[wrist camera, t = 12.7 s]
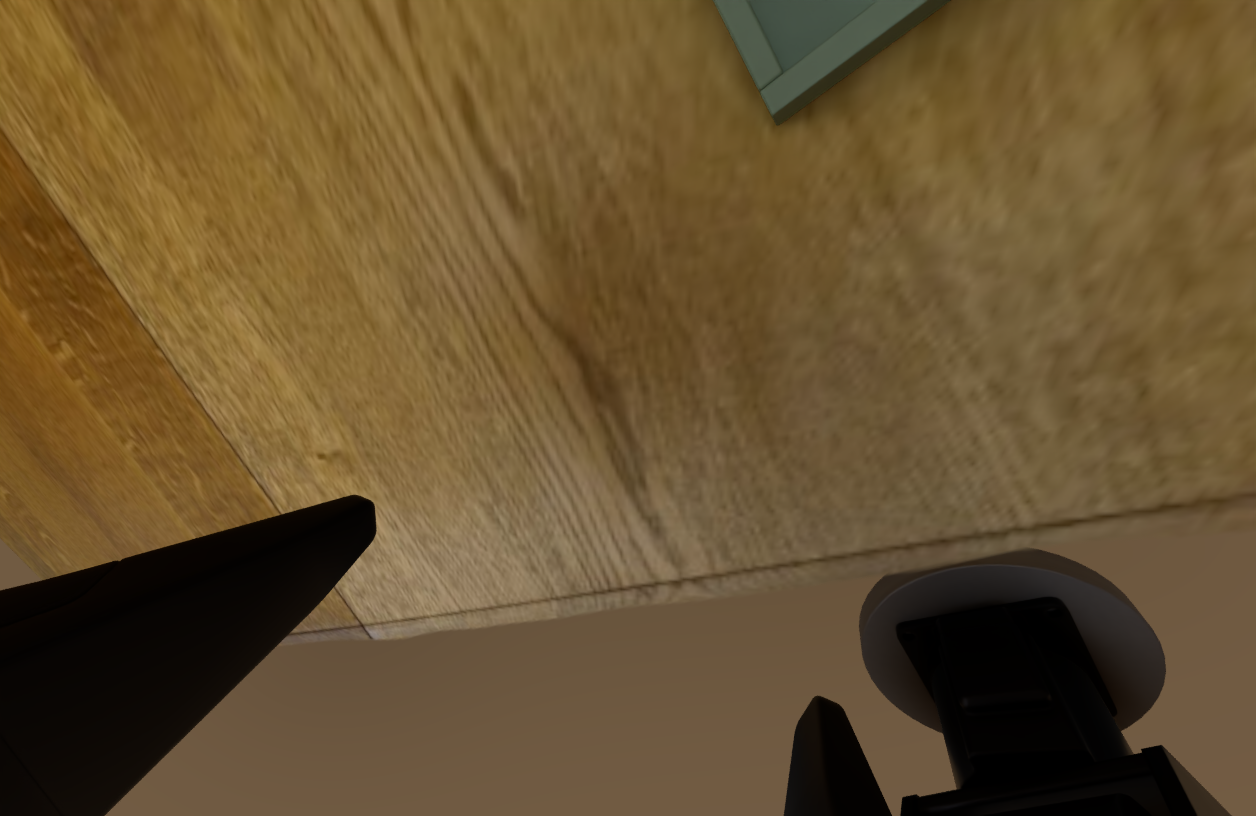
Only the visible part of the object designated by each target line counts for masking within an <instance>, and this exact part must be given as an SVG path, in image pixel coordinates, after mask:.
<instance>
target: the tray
mask: <svg viewBox="0 0 1256 816" xmlns="http://www.w3.org/2000/svg"><path fill="white" fill-rule="evenodd" d="M950 1H951V0H713V2H714V4H715V5H716V7H717V9H718V11H719V13H720V15H721V17H722V19H723V21H724V23H725V25H726V27H727V29H728V31H729V33H730V35H731V37H732V39H733V41H734V43H735V45H736V47H737V49H738V51H739V53H740V55H741V57H742V59H743V61H744V63H745V65H746V67H747V69H748V71H749V73H750V74H751V76H752V78H753V80H754V82H755V84H756V86H757V88H758V90H759V92H760V94H761V96H762V98H763V100H764V102H765V104H766V106H767V108H768V110H769V112H770V114H771V116H772V118H773V120H774V122H775V123H776V125H780V124H781V123H783V122H784V121H786V120H787V119H788V118H790V117H791V116H792V115H794V114H795V113H797V112H798V111H799V110H801V109H802V108H803V107H805V106H806V105H808V104H809V103H810V102H812V101H813V100H815V99H816V98H817V97H819V96H820V95H821V94H823V93H824V92H826V91H827V90H828V89H830V88H831V87H832V86H834V85H835V84H837V83H838V82H839V81H841V80H842V79H843V78H845V77H846V76H848V75H849V74H850V73H852V72H853V71H854V70H856V69H857V68H859V67H860V66H861V65H863V64H864V63H865V62H867V61H868V60H870V59H871V58H872V57H874V56H875V55H877V54H878V53H879V52H881V51H882V50H883V49H885V48H886V47H888V46H889V45H890V44H892V43H893V42H894V41H896V40H897V39H899V38H900V37H901V36H903V35H904V34H905V33H907V32H908V31H910V30H911V29H912V28H914V27H915V26H916V25H918V24H919V23H921V22H922V21H923V20H925V19H926V18H927V17H929V16H930V15H932V14H933V13H934V12H936V11H937V10H939V9H940V8H941V7H943V6H944V5H945V4H947V3H948V2H950Z"/></svg>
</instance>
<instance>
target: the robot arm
mask: <svg viewBox="0 0 1256 816" xmlns="http://www.w3.org/2000/svg"><path fill="white" fill-rule="evenodd" d="M375 535H376V515H375V505H374V503H373V502H372V501H371V500H368V499H366V498H364V497H361V496H359V495H350V496H346V497H343V498H339V499H336V500H332V501H328V502H325V503H321V504H318V505H314V506H310V507H307V508H303V509H300V510H296V511H292V512H289V513H285V514H282V515H278V516H275V517H271V518H267V519H264V520H260V521H257V522H253V523H249V524H246V525H242V526H239V527H235V528H231V529H228V530H224V531H221V532H217V533H213V534H210V535H206V536H203V537H199V538H196V539H192V540H188V541H185V542H181V543H178V544H174V545H170V546H167V547H163V548H160V549H156V550H152V551H149V552H145V553H142V554H138V555H134V556H131V557H127V558H124V559H122V560H121V561H112V562H109V563H105V564H102V565H98V566H95V567H91V568H87V569H84V570H80V571H76V572H72V573H69V574H65V575H61V576H57V577H53V578H50V579H46V580H42V581H39V582H34V583H30V584H26V585H21V586H17V587H13V588H9V589H5V590H1V591H0V816H105V815H106V814H107V813H108V812H109V811H110V810H111V809H112V808H113V807H114V806H115V805H116V804H117V803H118V802H119V801H120V800H121V799H122V798H123V797H124V796H125V795H126V794H127V793H128V792H129V791H130V790H131V789H132V788H133V787H134V786H135V785H136V784H137V783H138V782H139V781H140V780H141V779H142V778H143V777H144V776H145V775H146V774H147V773H148V772H149V771H150V770H151V769H152V768H153V767H154V766H155V765H156V764H157V763H158V762H159V761H160V760H161V759H162V758H164V756H165V755H167V754H168V753H169V752H170V751H171V749H173V747H175V746H176V745H177V744H178V743H179V742H180V741H181V740H182V739H183V738H184V737H185V736H186V735H187V734H188V733H189V732H190V731H191V730H192V729H193V728H194V727H195V726H196V725H197V724H198V723H199V722H200V721H201V720H202V719H203V718H204V717H205V716H206V715H207V714H208V713H209V712H210V711H211V710H212V709H213V708H214V707H215V706H216V705H217V704H218V703H219V702H220V701H221V700H222V699H223V698H224V697H225V696H226V695H227V694H228V693H229V692H230V691H231V690H232V689H234V688H235V687H236V686H237V684H238V683H239V682H240V681H242V680H243V679H244V678H245V677H246V676H247V675H248V674H249V673H250V672H251V671H252V670H253V669H254V668H255V666H257V665H258V664H259V663H260V662H261V661H262V660H263V659H264V658H265V657H266V656H267V655H268V654H269V653H270V652H271V651H272V650H273V649H274V648H275V647H276V646H277V645H278V644H279V643H280V642H281V641H282V640H283V639H284V638H285V637H286V636H287V635H288V634H289V633H290V632H291V631H292V630H293V629H294V628H295V627H296V626H297V625H298V624H299V623H300V622H301V621H303V620H304V619H305V618H306V617H307V616H308V615H309V614H310V613H311V612H312V610H313V609H314V608H315V607H316V606H317V605H318V604H319V603H320V602H321V601H322V600H323V599H324V598H325V597H326V595H327V594H328V593H329V592H330V591H331V590H332V588H333V587H334V586H335V585H336V584H337V583H338V581H339V580H340V579H341V578H342V577H343V575H344V574H345V573H346V572H347V571H348V570H349V568H350V567H351V566H352V565H353V564H354V563H355V561H356V560H357V559H358V558H359V557H360V555H361V554H362V553H363V552H364V551H365V550H366V548H367V547H368V546H369V545H370V544H371V542H372V541H373V539H374V537H375ZM1049 609H1056V610H1053V611H1048V610H1049ZM895 630H896V635H897V638H898V640H899V642H900V644H901V645H902V647H903V649H904V651H905V652H906V654H907V656H908V657H909V659H910V661H911V663H912V664H913V666H914V668H915V670H916V671H917V673H918V675H919V677H920V678H921V680H922V682H923V683H924V685H925V687H926V689H927V690H928V692H929V694H930V696H931V697H932V699H933V701H934V703H935V704H936V706H937V711H938V715H939V719H940V723H941V727H942V731H943V735H944V739H945V743H946V747H947V751H948V755H949V759H950V763H951V767H952V772H953V776H954V780H955V783H956V788H957V789H956V790H951V791H946V792H941V793H936V794H931V795H926V796H921V797H919V796H918V795H911V796H906V797H903V798H902V805H901V816H1231V815H1230V814H1229V813H1228V812H1227V811H1226V810H1225V809H1224V808H1223V807H1222V806H1221V804H1220V803H1219V802H1218V801H1217V800H1216V799H1215V798H1214V797H1212V795H1211V794H1210V793H1209V792H1208V791H1207V790H1206V789H1205V788H1204V787H1203V786H1202V785H1201V784H1200V783H1199V782H1198V781H1197V780H1196V779H1195V778H1194V777H1193V776H1192V775H1191V774H1190V773H1189V772H1188V771H1187V770H1186V769H1185V768H1184V767H1183V766H1182V765H1181V764H1180V763H1179V762H1178V761H1177V760H1176V759H1175V758H1174V757H1173V756H1172V755H1171V754H1170V753H1169V752H1168V751H1167V750H1166V749H1165V748H1164V747H1163V746H1162V745H1159V746H1154V747H1149V748H1144V749H1141V750H1142V753H1138V754H1133V752H1132V750H1131V748H1130V747H1129V745H1128V743H1127V741H1126V740H1125V738H1124V736H1123V734H1122V733H1121V731H1120V729H1119V727H1118V726H1117V724H1116V722H1115V720H1114V719H1113V717H1115V716H1116V715H1117V709H1116V707H1115V705H1114V702H1113V700H1112V698H1111V696H1110V694H1109V692H1108V690H1107V688H1106V686H1105V684H1104V682H1103V680H1102V678H1101V676H1100V674H1099V671H1098V669H1097V667H1096V665H1095V663H1094V661H1093V659H1092V657H1091V655H1090V653H1089V651H1088V649H1087V647H1086V645H1085V643H1084V640H1083V638H1082V636H1081V634H1080V632H1079V630H1078V628H1077V626H1076V624H1075V622H1074V620H1073V618H1072V616H1071V614H1070V612H1069V610H1068V608H1067V607H1066V605H1065V603H1064V602H1063V601H1062V600H1061V599H1059V598H1056V597H1041V598H1036V599H1030V600H1024V601H1018V602H1013V603H1007V604H1001V605H996V606H990V607H984V608H978V609H973V610H967V611H961V612H956V613H950V614H944V615H938V616H933V617H927V618H921V619H916V620H910V621H904V622H901V623H898V624H897V625H896V628H895ZM906 632H909V633H911V634H906ZM784 816H892V814H891V812H890V810H889V808H888V806H887V803H886V801H885V799H884V797H883V795H882V792H881V791H880V788H879V786H878V784H877V782H876V779H875V777H874V775H873V773H872V770H871V768H870V766H869V764H868V762H867V760H866V757H865V755H864V753H863V751H862V748H861V746H860V744H859V742H858V740H857V737H856V735H855V733H854V731H853V729H852V726H851V724H850V722H849V720H848V718H847V716H846V713H845V711H844V709H843V708H842V707H841V706H840V705H839V704H837V703H835V702H833V701H831V700H828V699H826V698H824V697H821V696H815V697H814V698H813V699H812V701H811V702H810V704H809V706H808V707H807V709H806V710H805V712H804V714H803V715H802V716H801V718H800V720H799V721H798V724H797V726H796V730H795V734H794V741H793V749H792V757H791V764H790V772H789V780H788V788H787V795H786V803H785V810H784Z"/></svg>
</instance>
